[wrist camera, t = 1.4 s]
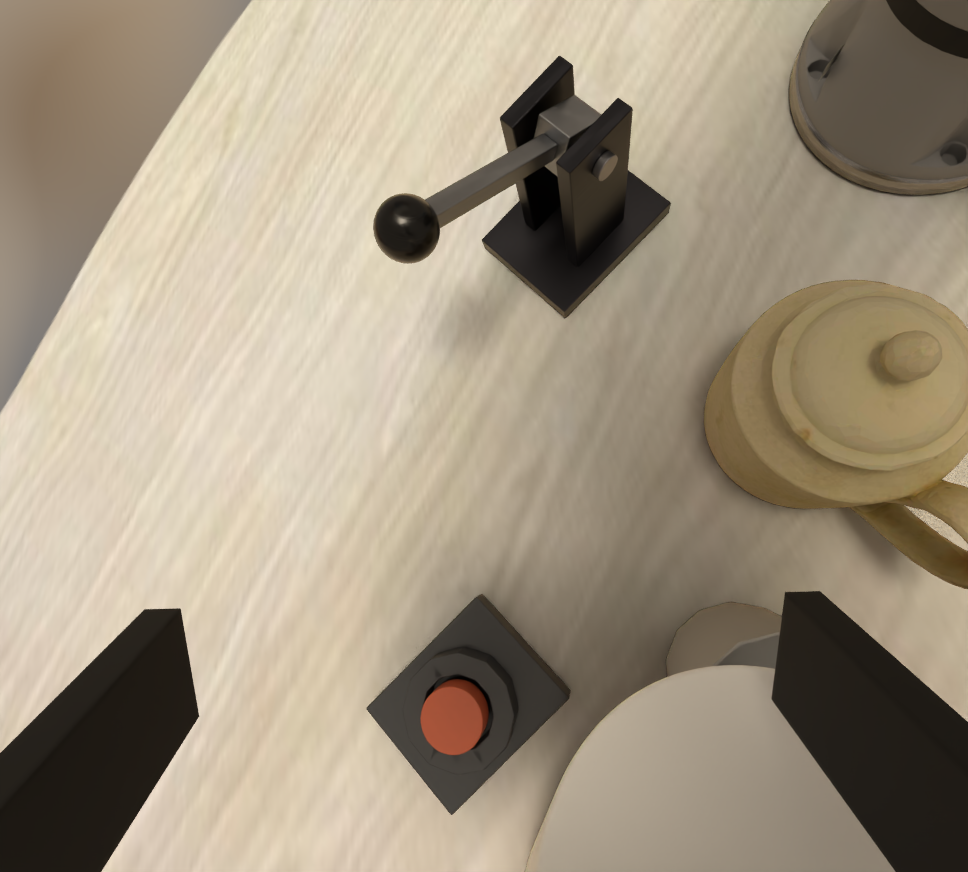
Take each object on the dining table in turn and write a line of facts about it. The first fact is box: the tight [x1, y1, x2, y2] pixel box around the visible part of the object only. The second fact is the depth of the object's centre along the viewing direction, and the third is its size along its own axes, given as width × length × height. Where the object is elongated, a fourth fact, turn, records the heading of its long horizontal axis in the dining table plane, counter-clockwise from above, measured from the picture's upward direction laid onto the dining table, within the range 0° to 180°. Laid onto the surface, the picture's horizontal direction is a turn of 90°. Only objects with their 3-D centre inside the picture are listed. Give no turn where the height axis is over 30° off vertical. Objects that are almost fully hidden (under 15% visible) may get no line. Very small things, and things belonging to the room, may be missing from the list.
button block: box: [367, 594, 570, 815], centre depth 35 cm, size 10×8×4 cm
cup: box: [666, 602, 782, 677], centre depth 29 cm, size 8×8×10 cm
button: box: [421, 679, 489, 755], centre depth 33 cm, size 4×4×2 cm
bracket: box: [482, 56, 671, 318], centre depth 34 cm, size 10×8×12 cm
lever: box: [373, 95, 601, 263], centre depth 28 cm, size 14×3×3 cm, turn 135°
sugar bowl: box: [704, 280, 968, 589], centre depth 28 cm, size 15×11×15 cm
